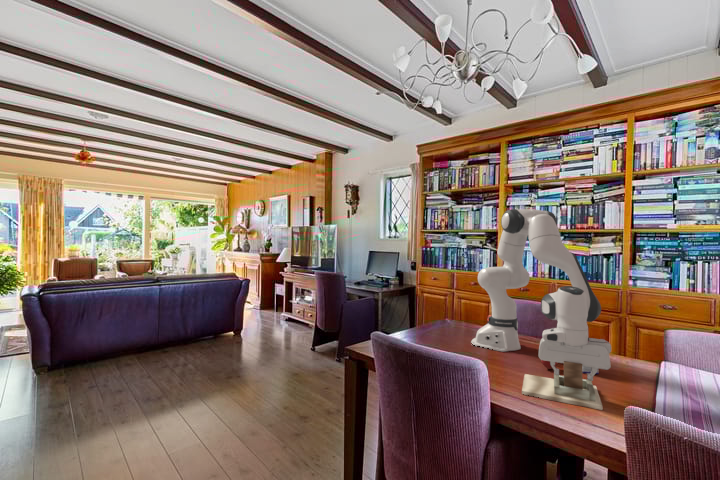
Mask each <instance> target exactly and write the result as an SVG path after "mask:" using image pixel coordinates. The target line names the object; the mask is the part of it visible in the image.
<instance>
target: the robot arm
mask: <svg viewBox="0 0 720 480" xmlns="http://www.w3.org/2000/svg"><path fill="white" fill-rule="evenodd" d="M500 221H501V222H500V225H501V229H502V232H501V235H500V238H499V243H498V248H497V251H496V252H497V256H498V258H499V259H500V260H502V261H503V265H502V266H489V267H485V268H482V269H480V270H479V272H478V273H477V282H478V284H479V286H480V287H481V288H482V289H483V290H485V291H486V293H487V294H488V297H489V299H490V302H491V303H490V304H491V314H489V315H488V316H487V323H486V324H485V325H483V326H482V327H480V328H479V329H478V330H477V331H476V335H475V337H474V338H472V340H471V341H470V344H471V343H472V344H473V345H475V346H474V347H477V346H480V347H479V348H482V347H484V348H483V349H487V348H489V349H488V350H492V349H493V351H498V352H502V353H503V352H509V351H510V352H511V351H512V352H513V351H518V350H521V348H522V347H521V344H520V340H519V335H518V329H519V321H518V318H517V302H516V300H514V298H512V297H510V296H509V295H508V293H507V292H508V291H507V290H511V289H512V290H513V289H514V290H515V289H520V288H523V287H527V285H529V282H530V278H531V277H530V273H529V271H528V270H527V269H526V268H525V267H524V264H523V257H524V256H523V255H524V252H525V248H526V244H527V240H528V243H529V247H530V252H531V254H532V256H533V257H534V258H535V259H536V260H537V261H538V262H540V263H543V264H545V265H548V266H552V267H555V268H557V269H558V270H559V269H560V270H562V272H564V273H565V274H566V275H567V276H568V279H569V281H570V284H571V285H564V286H560V287H558V288H557V291H555V292H551V293H546V294H545V295H544V296H543V297H542V299H541V300H540V301H541V302H540V311H541V314H543V315H544V316H545V318H547V319H549V320H553V321H557V324H556V327H552V328H547V329H544V330H543V331H542V334H541V336H542V338H541V339H540V341H539V346H538V358H539V360H540V361H541V360H544V361H550V365H551V366H552V369H553V376H554V375H560V369H559V368H556V366H554V365H555V362H558V363H560V364H564V361H566V362H573V363H580V364H582V366H585V367H591V369H592V372H591V373H590V374H588V373H586V380H589V381H592V382H593V381H594V376H595V375H597V374H596V372H597V368H599V369H600V370H606V371H608V370H609V369H611V364H612V363H611V358H610V353H611V352H612V345H611V343H610V342H609V341H607V340H605V338H600V339H599V338H595V337H589V326H588V323H593V322H594V321H596V320H597V319H598V317H599V316H600V315H601V312H602V306H601V302H600V301H599V299H598V297H597V296H596V295H595V293H594V291H593V290H592V289H593V288H592V287H591V285H590V283H589V281H588V279H587V276H586V275H585V272H584V269H583V267H582V265H581V263H580V261H579V260H578V258H577V256H576V255H575V253H573V252H571V251H570V250H568V248H567V247H566V246H565V244H564V243H563V241H562V237H561V233H560V231H559V227H558V225H557V224H558V222H557V218H556V215H555V213H553V212H551V211H549V210H546V209H545V210H541V209H534V208H527V209H523V208H522V209H520V208H519V209H517V208H516V209H515V208H512V209H507V210H505V211H504V213H503V214H502V216H501V219H500ZM588 341H589V342H588ZM472 344H471V345H472ZM473 345H472V346H473ZM558 363H557V364H558Z"/></svg>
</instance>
